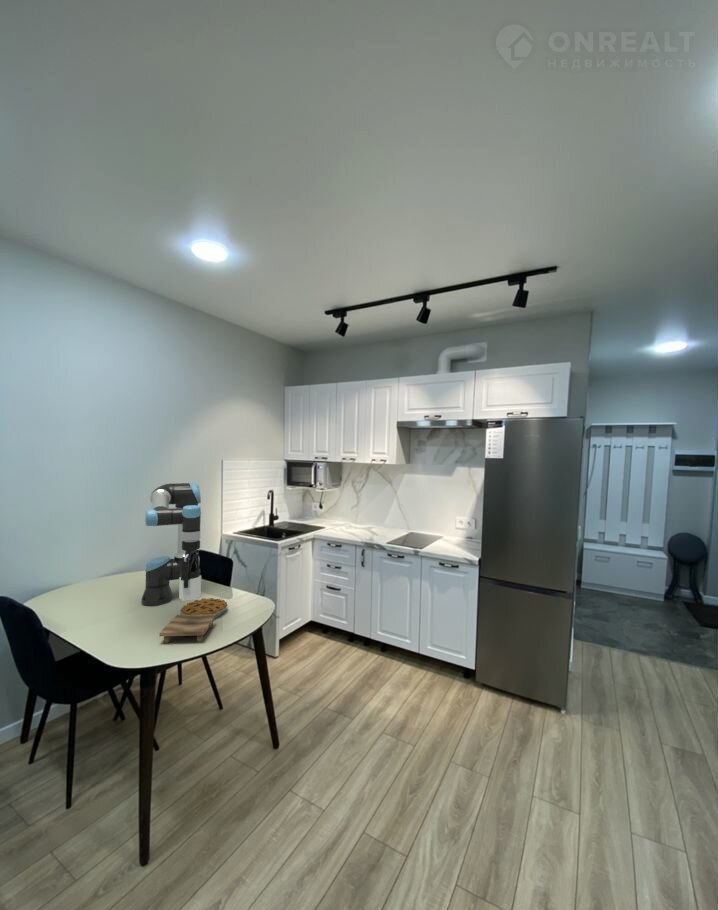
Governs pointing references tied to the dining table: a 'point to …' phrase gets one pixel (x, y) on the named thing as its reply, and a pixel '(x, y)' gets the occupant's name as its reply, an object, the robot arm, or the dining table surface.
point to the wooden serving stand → (188, 626)
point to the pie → (205, 607)
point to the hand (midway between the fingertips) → (190, 591)
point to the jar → (191, 585)
